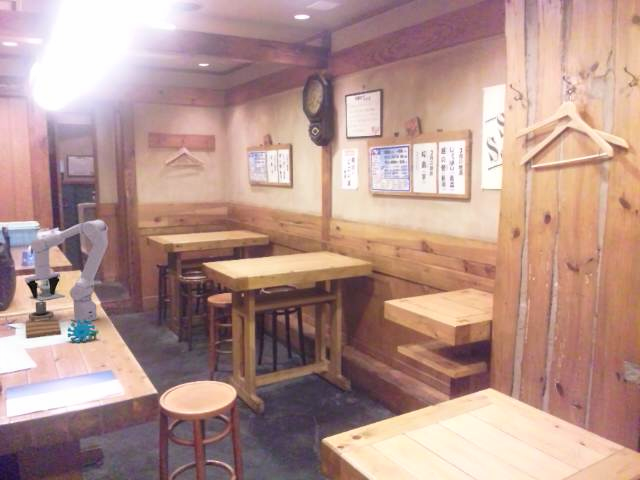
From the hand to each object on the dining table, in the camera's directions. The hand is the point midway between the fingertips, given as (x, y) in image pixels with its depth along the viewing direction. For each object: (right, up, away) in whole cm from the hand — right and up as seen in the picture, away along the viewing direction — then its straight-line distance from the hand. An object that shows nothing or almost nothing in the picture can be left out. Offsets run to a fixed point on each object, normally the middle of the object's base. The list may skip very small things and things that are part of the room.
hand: (44, 296), depth 234 cm
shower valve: (-19, -5, +40) cm, 45 cm away
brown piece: (+5, -11, -11) cm, 17 cm away
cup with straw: (-23, -4, +48) cm, 53 cm away
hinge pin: (0, -10, -3) cm, 11 cm away
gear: (+30, -14, -28) cm, 43 cm away
